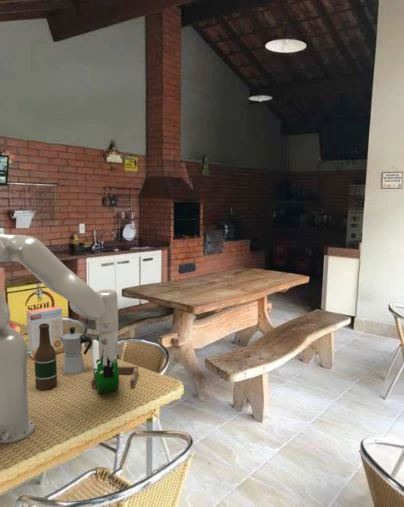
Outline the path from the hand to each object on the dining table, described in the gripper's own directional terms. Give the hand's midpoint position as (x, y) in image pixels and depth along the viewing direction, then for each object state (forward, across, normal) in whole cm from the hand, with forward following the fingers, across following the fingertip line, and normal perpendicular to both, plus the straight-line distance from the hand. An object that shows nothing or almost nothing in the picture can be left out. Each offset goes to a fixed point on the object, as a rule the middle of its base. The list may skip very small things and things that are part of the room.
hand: (108, 376), depth 149 cm
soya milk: (+6, +3, +1) cm, 6 cm away
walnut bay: (+8, +15, 0) cm, 17 cm away
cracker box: (+8, +43, +36) cm, 57 cm away
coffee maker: (+8, +25, +18) cm, 32 cm away
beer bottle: (+8, +10, +25) cm, 28 cm away
